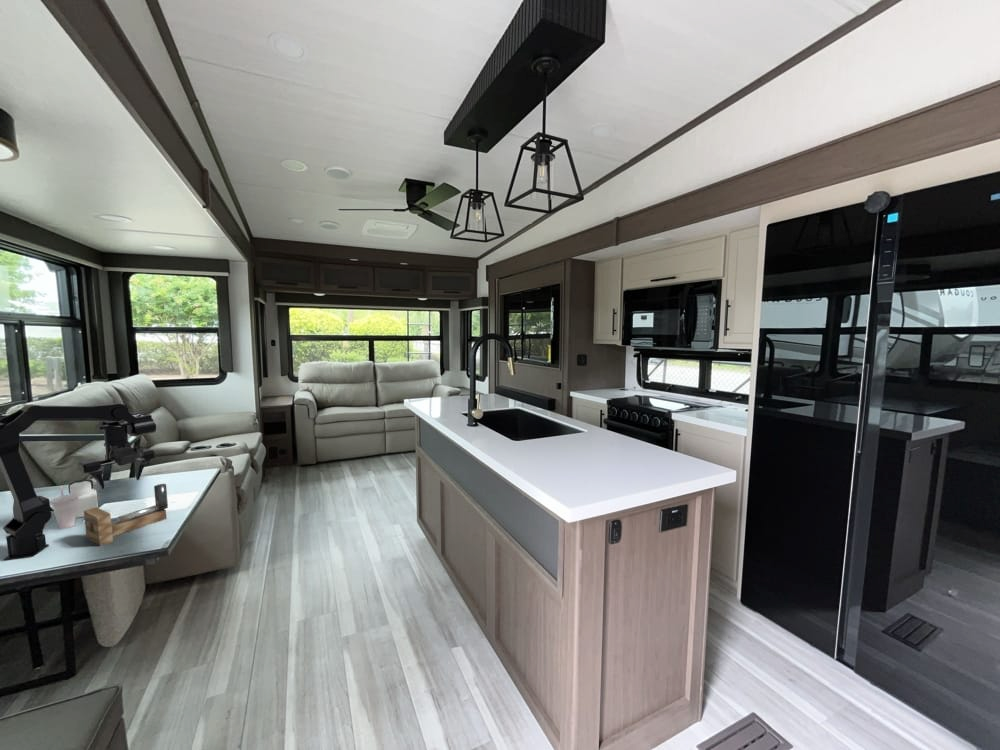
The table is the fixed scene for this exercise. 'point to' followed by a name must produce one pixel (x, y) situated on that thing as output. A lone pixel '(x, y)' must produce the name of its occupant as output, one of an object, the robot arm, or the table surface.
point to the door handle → (160, 505)
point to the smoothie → (65, 509)
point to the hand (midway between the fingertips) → (120, 484)
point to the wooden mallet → (102, 529)
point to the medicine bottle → (83, 496)
